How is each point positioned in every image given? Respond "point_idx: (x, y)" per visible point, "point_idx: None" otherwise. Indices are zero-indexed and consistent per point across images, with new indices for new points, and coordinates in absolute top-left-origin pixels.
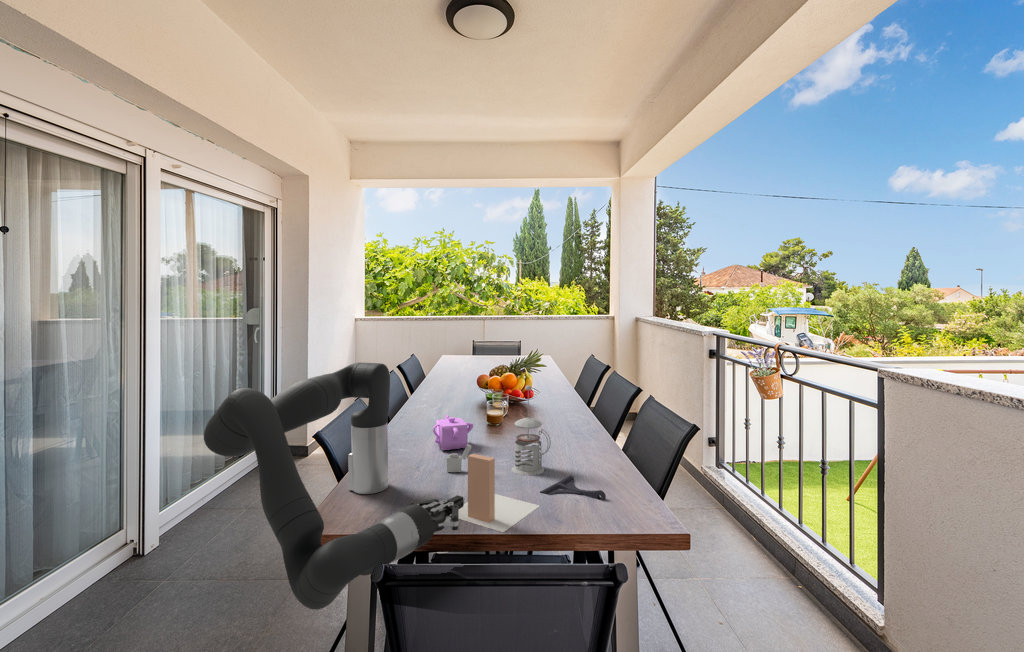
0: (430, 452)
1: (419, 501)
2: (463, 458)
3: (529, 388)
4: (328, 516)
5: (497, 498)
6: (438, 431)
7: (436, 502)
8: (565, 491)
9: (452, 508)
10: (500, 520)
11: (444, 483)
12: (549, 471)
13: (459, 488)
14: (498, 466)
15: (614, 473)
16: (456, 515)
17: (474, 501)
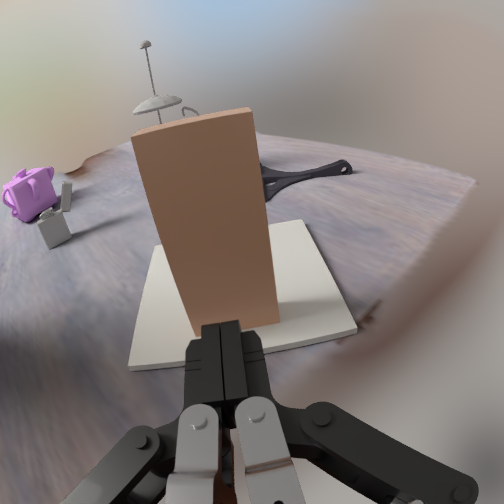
0: (12, 233)
1: (67, 500)
2: (66, 210)
3: (148, 43)
4: None
5: None
6: (10, 199)
7: (188, 486)
8: (286, 182)
9: (339, 455)
10: (292, 297)
11: (57, 272)
12: None
13: (92, 267)
14: (124, 199)
15: (291, 145)
16: (451, 481)
17: (208, 291)
